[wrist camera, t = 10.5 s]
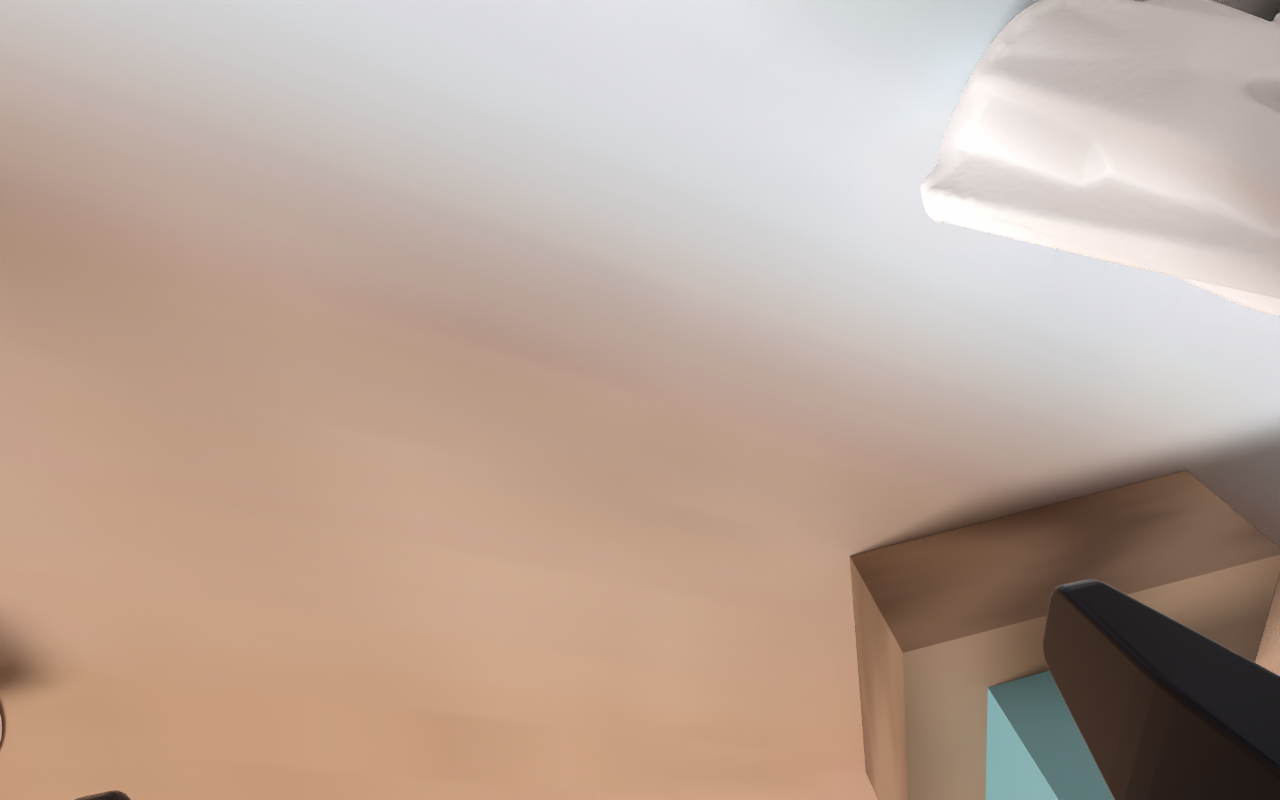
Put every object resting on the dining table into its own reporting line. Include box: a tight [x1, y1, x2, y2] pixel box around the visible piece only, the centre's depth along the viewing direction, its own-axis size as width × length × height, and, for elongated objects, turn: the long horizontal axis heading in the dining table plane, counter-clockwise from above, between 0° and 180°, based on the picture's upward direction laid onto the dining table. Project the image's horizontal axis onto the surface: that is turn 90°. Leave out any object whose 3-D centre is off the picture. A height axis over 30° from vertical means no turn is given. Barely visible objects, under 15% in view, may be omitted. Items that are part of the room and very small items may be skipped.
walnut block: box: [850, 470, 1280, 800], centre depth 26 cm, size 10×10×4 cm
